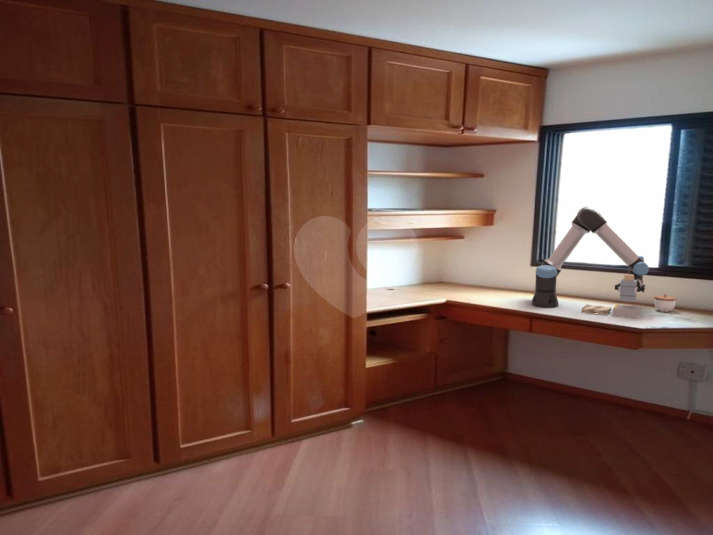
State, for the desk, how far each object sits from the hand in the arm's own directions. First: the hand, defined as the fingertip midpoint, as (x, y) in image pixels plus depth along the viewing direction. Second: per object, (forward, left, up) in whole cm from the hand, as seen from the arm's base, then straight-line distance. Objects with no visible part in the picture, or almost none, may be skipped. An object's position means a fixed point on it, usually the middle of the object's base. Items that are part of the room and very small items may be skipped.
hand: (627, 290), depth 273 cm
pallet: (-15, +4, -14) cm, 21 cm away
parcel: (0, +5, +5) cm, 7 cm away
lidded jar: (+16, +29, -14) cm, 36 cm away
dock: (0, +5, -14) cm, 15 cm away
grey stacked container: (0, +5, -6) cm, 8 cm away
